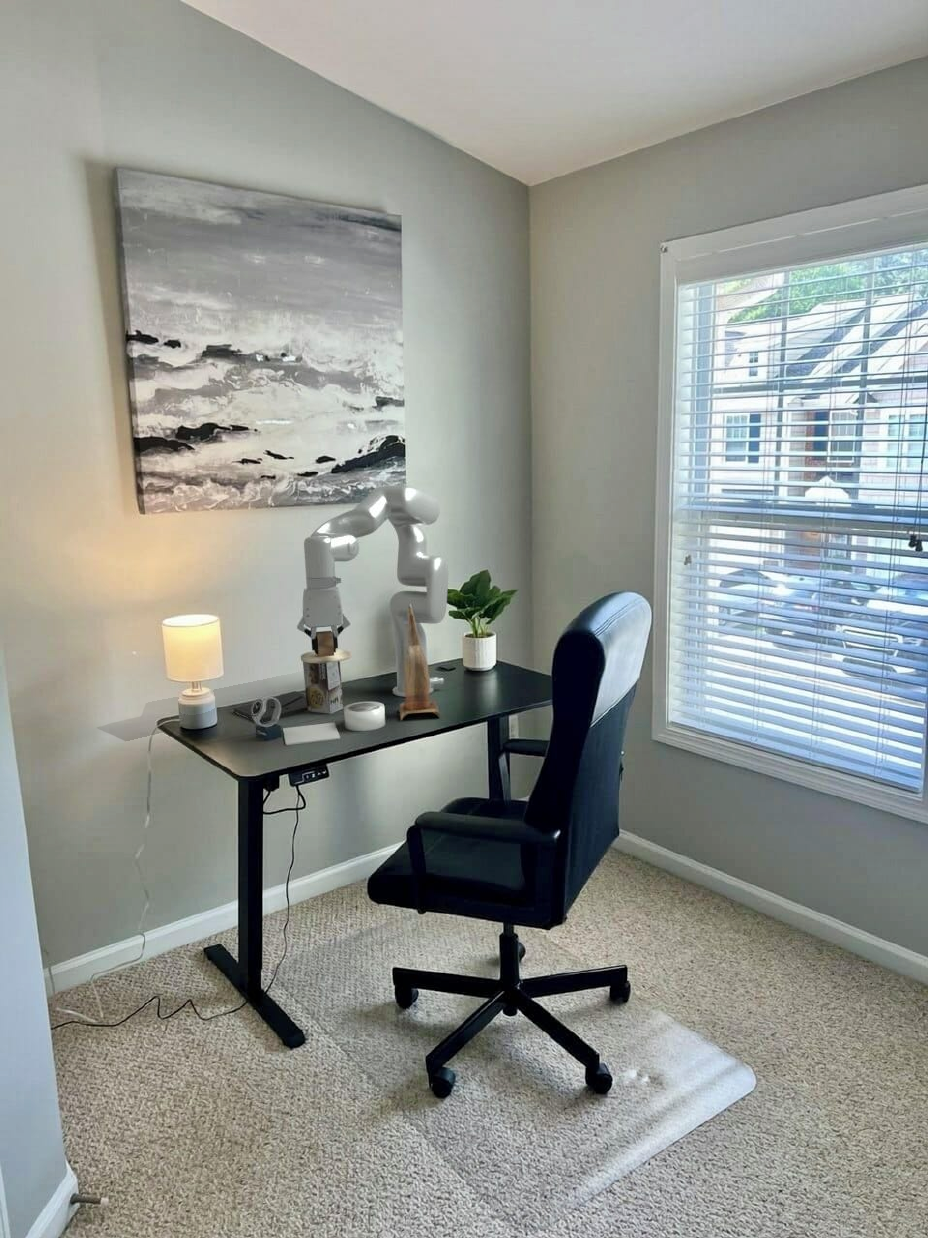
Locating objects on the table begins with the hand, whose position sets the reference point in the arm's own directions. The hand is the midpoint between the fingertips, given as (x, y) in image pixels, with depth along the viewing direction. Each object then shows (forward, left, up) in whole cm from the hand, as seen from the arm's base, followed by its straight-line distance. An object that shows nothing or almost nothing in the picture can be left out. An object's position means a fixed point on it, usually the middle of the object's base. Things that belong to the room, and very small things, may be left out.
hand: (325, 651), depth 236 cm
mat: (+5, +1, -22) cm, 23 cm away
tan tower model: (-26, -6, -22) cm, 34 cm away
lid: (0, 0, -2) cm, 2 cm away
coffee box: (-1, -21, -22) cm, 31 cm away
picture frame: (+12, -26, -23) cm, 37 cm away
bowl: (-10, -2, -22) cm, 24 cm away
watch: (+16, -1, -22) cm, 28 cm away
